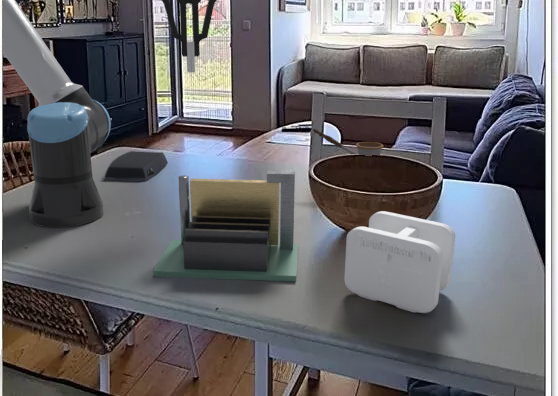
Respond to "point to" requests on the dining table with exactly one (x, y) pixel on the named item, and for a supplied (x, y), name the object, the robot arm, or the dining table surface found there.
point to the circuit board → (278, 269)
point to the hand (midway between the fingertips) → (191, 71)
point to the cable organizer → (400, 261)
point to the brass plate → (236, 200)
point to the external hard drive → (136, 166)
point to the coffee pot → (363, 147)
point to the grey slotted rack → (235, 232)
